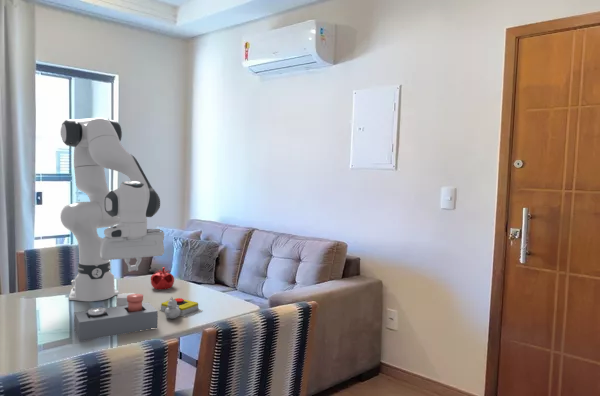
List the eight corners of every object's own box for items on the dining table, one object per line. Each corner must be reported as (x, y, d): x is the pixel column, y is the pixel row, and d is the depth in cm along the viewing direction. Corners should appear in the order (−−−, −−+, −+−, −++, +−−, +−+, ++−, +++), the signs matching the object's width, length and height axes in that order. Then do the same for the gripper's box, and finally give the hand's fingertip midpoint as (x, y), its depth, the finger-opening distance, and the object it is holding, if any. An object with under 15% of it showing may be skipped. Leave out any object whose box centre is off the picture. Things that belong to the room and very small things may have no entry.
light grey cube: (134, 313, 174) (134, 297, 173) (116, 314, 172) (116, 298, 172) (134, 308, 179) (134, 292, 179) (117, 309, 178) (117, 293, 177)
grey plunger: (87, 323, 154) (87, 308, 154) (104, 321, 157) (104, 306, 157) (89, 328, 150) (89, 313, 149) (107, 326, 153) (107, 311, 152)
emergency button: (175, 294, 186) (204, 300, 179) (174, 304, 186) (203, 311, 179) (157, 299, 178) (186, 306, 171) (156, 310, 178) (186, 318, 171)
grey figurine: (161, 319, 168) (161, 297, 167) (171, 313, 174) (171, 292, 173) (174, 321, 166) (174, 299, 166) (184, 315, 173) (184, 294, 172)
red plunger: (125, 309, 160) (125, 295, 160) (141, 307, 163) (141, 293, 163) (128, 313, 156) (129, 298, 156) (144, 311, 159) (145, 296, 159)
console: (74, 330, 155) (74, 312, 155) (148, 318, 168) (148, 302, 167) (79, 341, 146) (79, 322, 145) (157, 328, 159) (157, 311, 158)
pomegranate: (151, 286, 212) (151, 265, 211) (174, 285, 214) (174, 264, 213) (149, 291, 202) (149, 270, 201) (174, 290, 204) (174, 269, 204)
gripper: (161, 227, 165) (161, 266, 166) (99, 230, 154) (99, 271, 155) (167, 229, 160) (166, 269, 161) (102, 233, 149) (102, 276, 150)
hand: (133, 270), depth 158 cm, fingers closed
